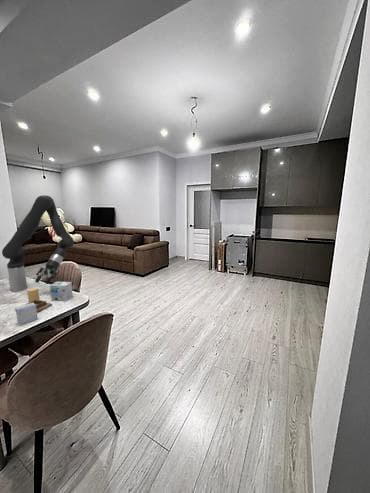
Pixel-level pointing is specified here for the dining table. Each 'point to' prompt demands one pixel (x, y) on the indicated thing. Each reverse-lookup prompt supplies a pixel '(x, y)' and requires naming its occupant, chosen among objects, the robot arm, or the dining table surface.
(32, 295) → the ochre post
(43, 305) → the walnut dock
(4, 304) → the dining table surface
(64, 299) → the light bulb box
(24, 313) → the medicine box
